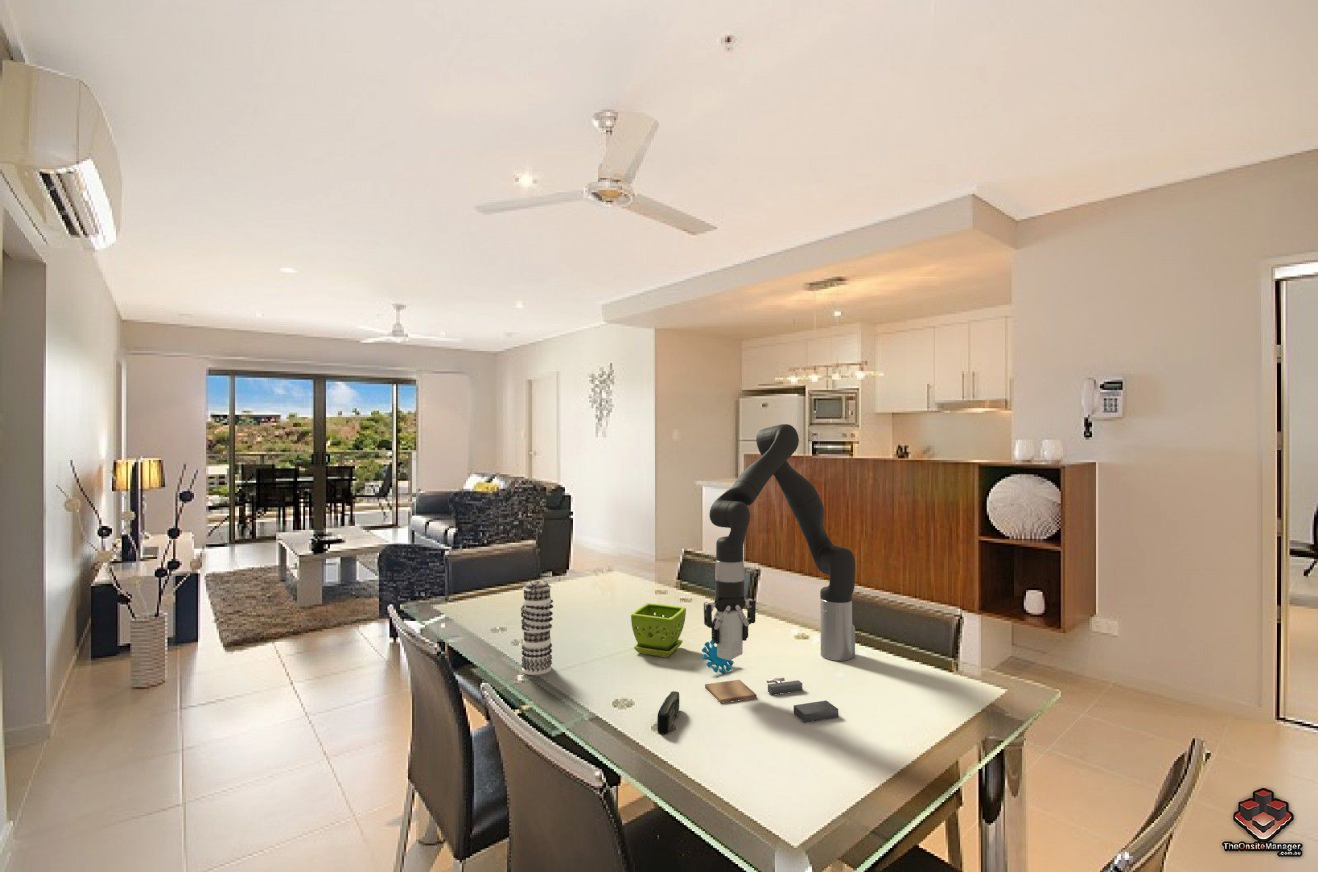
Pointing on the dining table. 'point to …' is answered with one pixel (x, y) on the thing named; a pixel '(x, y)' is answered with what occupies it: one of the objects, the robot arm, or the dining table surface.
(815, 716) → the dark grey blocks
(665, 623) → the flower pot
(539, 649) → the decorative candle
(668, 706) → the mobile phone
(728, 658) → the skincare box
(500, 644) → the dining table surface
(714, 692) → the coaster
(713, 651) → the gear
